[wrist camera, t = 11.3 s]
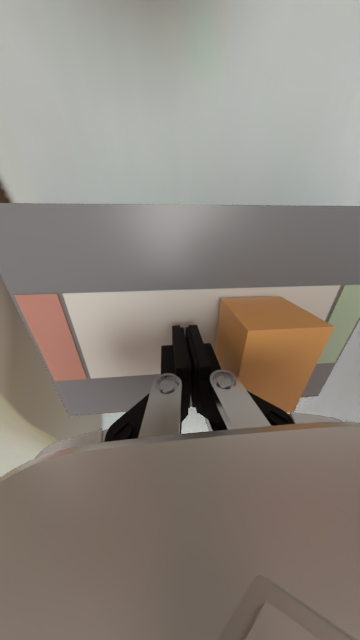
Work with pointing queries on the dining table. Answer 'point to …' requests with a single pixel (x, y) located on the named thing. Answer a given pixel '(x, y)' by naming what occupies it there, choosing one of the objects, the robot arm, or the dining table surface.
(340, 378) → the dining table surface
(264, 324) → the knob
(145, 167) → the dining table surface
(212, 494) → the robot arm
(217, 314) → the box
